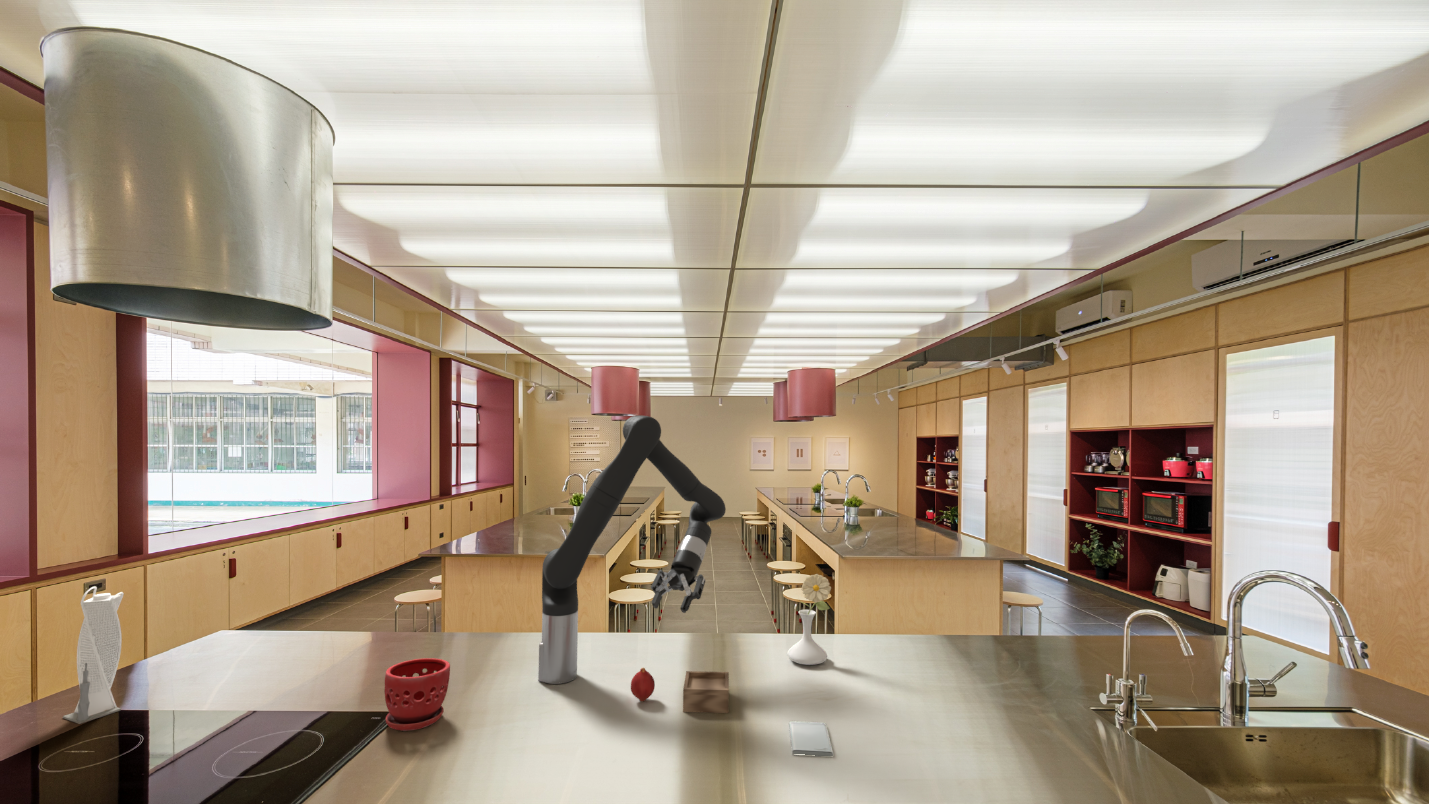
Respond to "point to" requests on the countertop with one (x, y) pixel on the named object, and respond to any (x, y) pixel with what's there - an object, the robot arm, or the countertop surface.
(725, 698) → the wooden tray
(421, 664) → the plant pot
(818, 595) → the flower in vase
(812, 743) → the hard drive
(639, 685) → the onion
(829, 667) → the countertop surface
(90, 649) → the skyscraper
